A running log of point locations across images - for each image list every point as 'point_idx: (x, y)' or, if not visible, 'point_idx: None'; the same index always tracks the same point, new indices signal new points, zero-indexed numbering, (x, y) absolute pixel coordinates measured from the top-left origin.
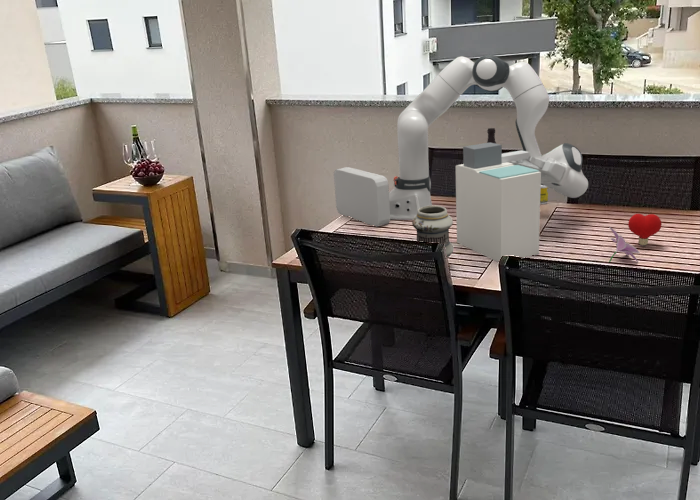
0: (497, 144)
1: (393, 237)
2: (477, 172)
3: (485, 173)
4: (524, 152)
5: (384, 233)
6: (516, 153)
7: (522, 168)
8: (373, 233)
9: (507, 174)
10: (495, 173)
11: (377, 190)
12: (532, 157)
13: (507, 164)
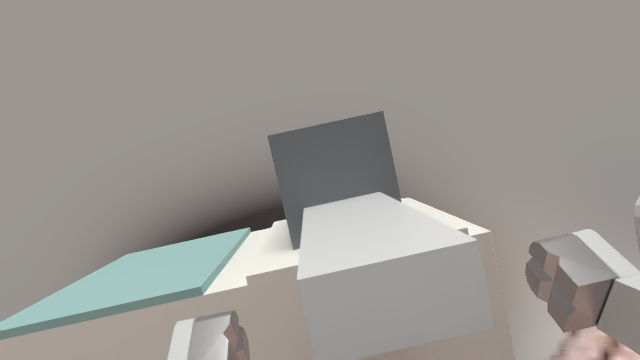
0: (297, 130)
1: (551, 357)
2: (262, 230)
3: (210, 236)
4: (326, 256)
5: (594, 344)
6: (333, 230)
7: (111, 295)
8: (593, 329)
9: (122, 264)
10: (177, 247)
11: (637, 227)
12: (177, 326)
13: (259, 262)
